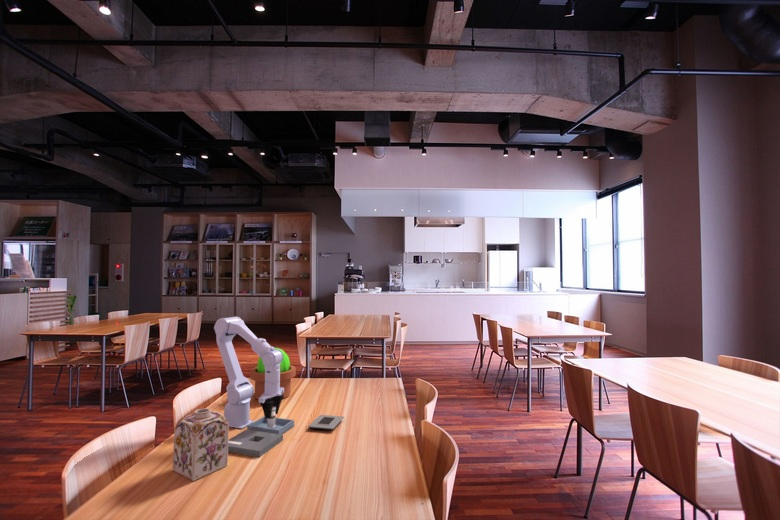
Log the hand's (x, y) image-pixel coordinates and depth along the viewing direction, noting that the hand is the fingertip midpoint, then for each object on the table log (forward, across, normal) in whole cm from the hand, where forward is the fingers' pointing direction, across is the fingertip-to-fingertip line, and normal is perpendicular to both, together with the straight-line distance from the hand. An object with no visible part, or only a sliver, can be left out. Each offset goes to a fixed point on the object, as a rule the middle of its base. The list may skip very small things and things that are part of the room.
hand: (271, 415), depth 150 cm
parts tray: (+5, 0, 0) cm, 5 cm away
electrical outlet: (+6, +10, -19) cm, 22 cm away
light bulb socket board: (+5, -14, -2) cm, 16 cm away
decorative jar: (+6, -34, +3) cm, 34 cm away
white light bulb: (+5, 0, 0) cm, 5 cm away
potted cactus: (+5, +38, +24) cm, 45 cm away
